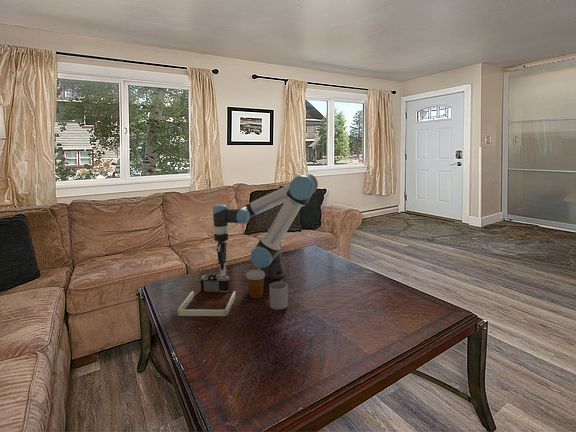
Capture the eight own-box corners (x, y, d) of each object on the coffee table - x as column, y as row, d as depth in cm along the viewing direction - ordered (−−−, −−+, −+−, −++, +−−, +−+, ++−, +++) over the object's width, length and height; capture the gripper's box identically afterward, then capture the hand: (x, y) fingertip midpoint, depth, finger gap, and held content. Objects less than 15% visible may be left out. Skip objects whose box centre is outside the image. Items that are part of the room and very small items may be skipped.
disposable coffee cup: (250, 301, 168) (250, 277, 166) (243, 294, 176) (242, 271, 174) (268, 297, 172) (268, 273, 170) (261, 290, 180) (260, 268, 178)
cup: (269, 302, 167) (269, 282, 165) (286, 301, 167) (286, 281, 165) (270, 310, 158) (269, 289, 156) (288, 309, 159) (288, 288, 157)
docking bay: (235, 296, 174) (235, 291, 173) (226, 316, 153) (226, 310, 153) (192, 296, 175) (191, 291, 174) (177, 315, 154) (176, 310, 154)
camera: (233, 286, 186) (232, 268, 184) (228, 293, 177) (227, 274, 176) (205, 285, 188) (204, 267, 186) (199, 292, 179) (198, 273, 177)
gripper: (217, 230, 197) (219, 270, 201) (210, 236, 184) (213, 278, 188) (230, 230, 196) (232, 270, 201) (225, 236, 183) (226, 278, 188)
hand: (223, 274), depth 194 cm, fingers closed
